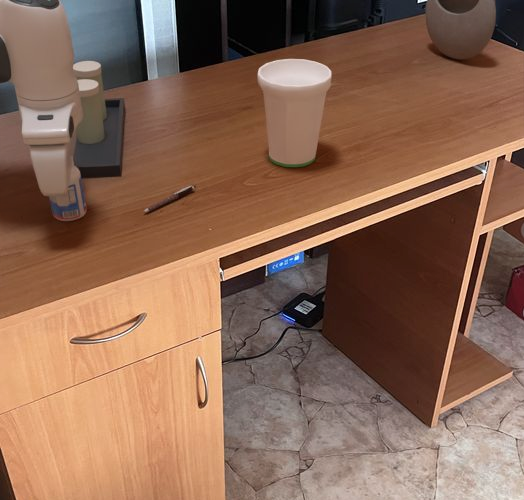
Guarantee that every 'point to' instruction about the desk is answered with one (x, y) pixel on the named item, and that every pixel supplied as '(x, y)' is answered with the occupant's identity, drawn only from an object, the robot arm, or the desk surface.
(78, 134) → the bottle mid
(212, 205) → the desk surface
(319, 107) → the cup
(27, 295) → the desk surface
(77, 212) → the pill bottle
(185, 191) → the pen
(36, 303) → the desk surface
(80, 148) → the tray
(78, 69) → the bottle back
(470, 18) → the planter
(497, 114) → the desk surface
